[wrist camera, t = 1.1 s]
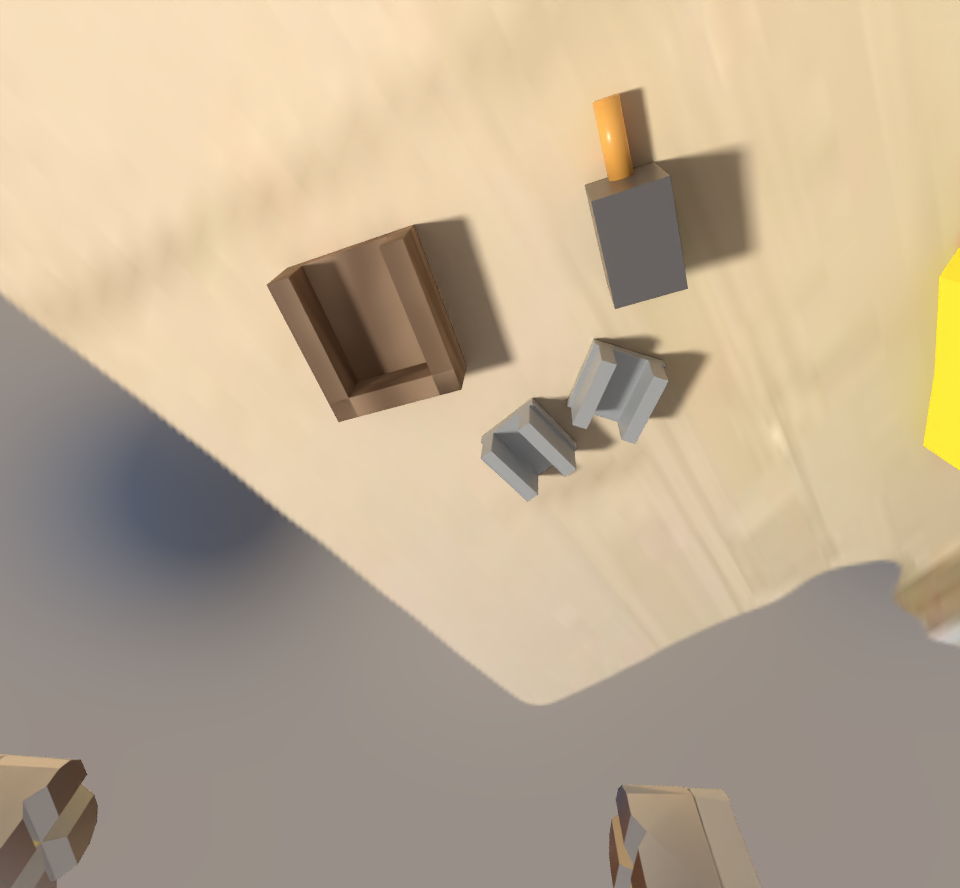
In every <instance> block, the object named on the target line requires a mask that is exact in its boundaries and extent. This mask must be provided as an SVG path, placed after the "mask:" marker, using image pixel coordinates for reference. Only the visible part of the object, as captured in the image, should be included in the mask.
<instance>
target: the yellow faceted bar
mask: <svg viewBox="0 0 960 888" xmlns="http://www.w3.org/2000/svg"><path fill="white" fill-rule="evenodd" d="M923 446H925V447H926V448H927V449H929V450H930V451H932V452H933V453H935V454H936V455H938V456H939V457H941V458H942V459H944V460H945V461H946V462H948V463H949V464H951V465H952V466H954V467H955V468H957V469H958V470H960V247H959V249H958V250H957V252H956V253H955V255H954V256H953V258H952V259H951V260H950V262H949V263H948V265H947V266H946V268H945V269H944V271H943V272H942V274H941V275H940V276H939V296H938V316H937V337H936V357H935V373H934V380H933V386H932V393H931V399H930V405H929V412H928V418H927V425H926V431H925V438H924V444H923Z"/></svg>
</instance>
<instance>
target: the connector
mask: <svg viewBox="0 0 960 888" xmlns="http://www.w3.org/2000/svg"><path fill="white" fill-rule="evenodd" d="M593 107H594V112H595V117H596V122H597V126H598V131H599V136H600V141H601V146H602V151H603V155H604V160H605V165H606V170H607V175H608V177H607V178H604V179H601V180H598V181H595V182H592V183H589V184H586V185H585V189H586V193H587V197H588V202H589V206H590V211H591V215H592V220H593V224H594V228H595V233H596V237H597V242H598V246H599V250H600V255H601V259H602V264H603V268H604V273H605V277H606V281H607V285H608V288H609V291H610V294H611V298H612V301H613V304H614V307H615V309H617V308H621V307H624V306H628V305H631V304H635V303H638V302H642V301H645V300H649V299H653V298H656V297H660V296H663V295H667V294H670V293H674V292H677V291H681V290H684V289H688V286H687V280H686V274H685V267H684V261H683V254H682V248H681V242H680V235H679V229H678V222H677V216H676V210H675V203H674V197H673V190H672V184H671V178H670V175H669V174H668V173H666V172H665V171H664V170H663V169H662V168H661V167H660V166H658V165H657V164H656V163H655V162H652V163H649V164H646V165H643V166H640V167H637V168H634V169H633V166H632V160H631V155H630V149H629V144H628V139H627V133H626V128H625V122H624V117H623V112H622V106H621V101H620V95H619V94H615V95H612V96H609V97H606V98H603V99H600V100H598V101H596V102H594V103H593Z"/></svg>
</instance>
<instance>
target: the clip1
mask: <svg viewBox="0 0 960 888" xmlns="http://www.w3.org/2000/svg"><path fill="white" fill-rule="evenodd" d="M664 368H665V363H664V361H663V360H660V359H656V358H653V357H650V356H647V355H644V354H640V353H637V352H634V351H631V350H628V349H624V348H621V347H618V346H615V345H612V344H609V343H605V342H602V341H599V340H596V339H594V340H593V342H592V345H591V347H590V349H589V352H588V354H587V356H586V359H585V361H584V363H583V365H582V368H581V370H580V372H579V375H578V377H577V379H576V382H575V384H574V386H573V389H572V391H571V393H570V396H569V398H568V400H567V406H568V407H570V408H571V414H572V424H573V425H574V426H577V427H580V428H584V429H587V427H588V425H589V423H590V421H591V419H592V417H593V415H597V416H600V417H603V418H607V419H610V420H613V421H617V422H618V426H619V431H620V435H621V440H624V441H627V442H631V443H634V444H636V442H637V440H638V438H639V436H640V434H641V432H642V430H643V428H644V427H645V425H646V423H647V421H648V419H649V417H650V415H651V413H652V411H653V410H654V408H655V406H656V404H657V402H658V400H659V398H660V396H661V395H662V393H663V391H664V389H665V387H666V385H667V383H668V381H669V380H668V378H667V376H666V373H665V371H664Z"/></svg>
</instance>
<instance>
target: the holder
mask: <svg viewBox="0 0 960 888" xmlns="http://www.w3.org/2000/svg"><path fill="white" fill-rule="evenodd" d="M267 286H268V288H269V290H270V292H271V294H272V296H273V298H274V300H275V302H276V304H277V306H278V307H279V309H280V311H281V313H282V315H283V317H284V319H285V321H286V323H287V325H288V326H289V328H290V330H291V332H292V334H293V336H294V338H295V340H296V342H297V344H298V346H299V347H300V349H301V351H302V353H303V355H304V357H305V359H306V361H307V363H308V365H309V366H310V368H311V370H312V372H313V374H314V376H315V378H316V380H317V382H318V384H319V386H320V387H321V389H322V391H323V393H324V395H325V397H326V399H327V401H328V403H329V405H330V407H331V408H332V410H333V412H334V414H335V416H336V418H337V420H338V422H341V421H344V420H348V419H352V418H356V417H359V416H363V415H367V414H371V413H375V412H378V411H382V410H386V409H390V408H393V407H397V406H401V405H405V404H408V403H412V402H416V401H420V400H424V399H427V398H431V397H435V396H439V395H442V394H446V393H450V392H454V391H457V390H461V389H462V384H463V380H464V376H465V372H466V367H467V366H466V363H465V360H464V358H463V355H462V353H461V350H460V347H459V345H458V342H457V339H456V337H455V334H454V331H453V329H452V326H451V323H450V321H449V318H448V315H447V313H446V310H445V307H444V305H443V302H442V299H441V297H440V294H439V291H438V289H437V286H436V283H435V281H434V278H433V275H432V273H431V270H430V267H429V265H428V262H427V260H426V257H425V254H424V252H423V249H422V246H421V244H420V241H419V238H418V236H417V233H416V230H415V228H414V225H411V226H408V227H405V228H403V229H400V230H397V231H394V232H391V233H388V234H385V235H382V236H379V237H376V238H373V239H370V240H368V241H365V242H362V243H359V244H356V245H353V246H350V247H347V248H344V249H341V250H338V251H336V252H333V253H330V254H327V255H324V256H321V257H318V258H315V259H312V260H309V261H306V262H303V263H301V264H298V265H295V266H292V267H289V268H287V269H285V270H284V271H283V272H282V273H281V274H279V275H278V276H277V277H276V278H274V279H273V280H272V281H271V282H270V283H268V284H267Z"/></svg>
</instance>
